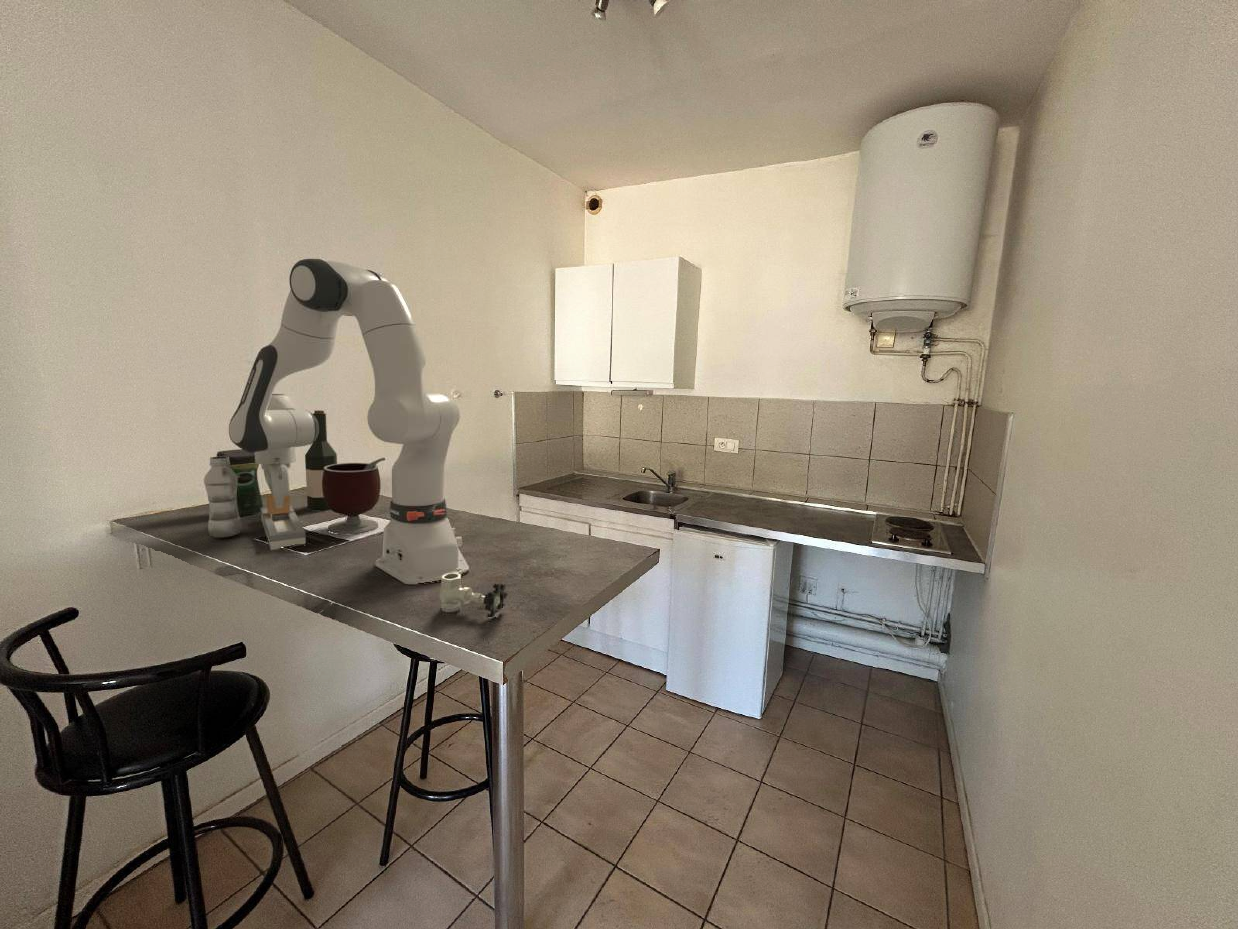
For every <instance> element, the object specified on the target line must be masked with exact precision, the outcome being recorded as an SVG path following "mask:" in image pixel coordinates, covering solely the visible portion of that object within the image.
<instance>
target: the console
mask: <svg viewBox="0 0 1238 929" xmlns="http://www.w3.org/2000/svg"><path fill="white" fill-rule="evenodd" d="M260 514H261V515H260V517H261V522H262V526H263V529H264V532H265V535H266V539H267V538H268V539H267V542H268V541H269V543H268V545H270V546H269V548H270V551H274V550H275V551H276V550H279V549H278V548H281V547H284V546H290V545H295V544H305V543H307V542H306V539H307V538H306V531H305V528H304V527H303V525H302V523H301V521H300V519H299V518H298V515H297V514H296V512H295V510H294V508H293V506H292V505H291V504H290V513H287V519H283V520H274V521H273V520H272V515H268V508H267V506H266V507H263V508H261V511H260Z"/></svg>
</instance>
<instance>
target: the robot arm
mask: <svg viewBox="0 0 1238 929" xmlns="http://www.w3.org/2000/svg"><path fill="white" fill-rule="evenodd" d="M288 281H289V287H290V291H289V292H288V295H287V298H286V301H285V305H284V307H283V310H282V314H281V315H282V316H281V319H280V320H281V321H280V326H279V330H278V331H277V333H276V336H274V338H273V340H272V341H271V342H270V343H268V344H267V345H266V346H264V347H261V349H260V350H259V351H258V352H257V355H256V357H255V360H254V362H253V365H252V367H251V369H250V370H251V371H250V373H249V376H248V379H247V382H246V384H245V387H244V390H243V393H242V396H241V398H240V401H239V404H238V406H237V408H236V410H235V411H234V413H233V415H232V417H231V418H230V422H229V424H228V434H229V435H228V436H229V438H230V441H231V442H232V443H233V444H234V445H235V446H237V447H238V449H243V450H245V451H247V452H249V453H253V452H255V463H258V464H259V465H261V470H263V474H264V479H265V483H266V485H267V487H268V489H269V491H270V494H272V496H273V497H274V500H275V508H277V509H279V508H283V507H284V506H283V500H284V497H285V496H289V497H290V478H289V470H288V469H290V468H291V463H294V462H296V457H297V456H296V448H298V447H305V446H311V445H312V444H313V442H314V441H315V440H316V438H317V436H318V434H319V424H318V421H317V419H316V417H315V416H314V415H313V413H312V412H310V411H309V410H307V409H303V408H301V407H299V406H297V405H296V404H295V403H293V401H292V398H291V397H290V396H289V395H286V394H285V393H284V394H283V393H274V391H275V388H276V386H277V384H279V382H280V381H282V380H283V379H284V378H286V377H288V376H290V375H293V374H295V373H298V372H301V371H306V370H309V369H314V368H316V367H318V366H320V365H322V364H323V363H325V362H326V361H327V360H328V359H330V357H331V355H332V354H333V349H334V347H335V341H336V336H337V330H338V324H339V321H340V318H341V317H343V316H344V317H355V319H356V320H357V323H358V326H359V330H360V332H361V337H362V339H363V342H364V344H365V347H366V350H367V351H366V352H367V353H368V354H367V355H368V357H369V361H370V363H371V367H372V373H373V378H374V397H373V400H372V403H371V404H370V406H369V409H368V411H367V418H366V420H367V425H368V427H369V429H370V431H371V433H372V434H373V435H374V436H375V438H376V439H378V440H380V441H382V442H384V443H388V444H396V445H402V446H401V450H400V453H399V456H398V457H397V459H396V460H395V462H394V463H393V465H392V468H391V492H392V493H391V498H392V499H391V501H390V505H389V516H390V520H389V522H388V524H386V526H384V528H383V535H382V536H383V537H382V538H383V539H382V541H383V542H382V556H381V557H379V558H378V559H376V560H375V563H374V564H375V567H377V568H378V569H380V570H382V571H383V572H385V573H387V575H390V576H392V577H393V578H395V579H396V580H399V581H400V582H401V583H403V584H405V585H419V584H418V583H424V582H431V583H433V582H432V581H436V580H440V579H442V575H444V574H447V573H458V574H462V573H463V572H466V571H467V570H469V571H470V566H469V565H468V562H467V561H466V559H465V558H464V556H463V554H462V552H461V551H460V549H459V547H462V546H463V538H462V536H455V534H456V528H455V527H452V526H451V523H450V518H449V519H448V510H447V509H448V506H447V502H446V499H445V497H444V495H445V490H444V489H445V467H446V466H445V465H446V464H445V463H446V460H447V456H448V451H449V447H450V443H451V439H452V435H453V433H454V430H455V429H456V428H457V426H458V424H459V422H460V419H461V418H460V417H461V416H460V414H461V413H460V410H459V409H460V408H459V406H458V405H457V403H456V402H455V401H454V399H452V398H451V397H449V396H447V395H445V394H443V393H440V392H439V393H438V392H436V391H425V390H424V386H423V385H424V384H423V370H424V367H425V365H426V355H425V353H424V349H423V346H422V343H421V340H420V338H419V335H418V331H417V327H416V325H415V322H414V319H413V317H412V314H411V312H410V309H409V308H408V305H407V303H406V302H405V299H404V297H403V295H402V294H401V292H400V290H399V288H398V287H397V286H396V285H395V284H393V283H391V282H390V281H388V279H386V278H385V277H384V276H383V275H381V274H379V273H377V272H375V271H373V270H370V269H363V268H360V267H357V266H354V265H350V264H348V263H343V262H339V261H332V260H331V261H330V260H323V259H320V258H305V259H304V258H303V259H301V260H298V261H297V262H295V263H294V265H293V266H292V268H291V271H290V274H289V280H288ZM424 584H425V583H424Z"/></svg>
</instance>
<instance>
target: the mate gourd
mask: <svg viewBox="0 0 1238 929" xmlns="http://www.w3.org/2000/svg"><path fill="white" fill-rule="evenodd" d="M382 461H386V458H385V457H381V458H378V459H376V460H373V461H372V462H370V463H368V462H342V463H337V464H332V465H328V466H325V467H324V472H323V478H322V491H323V496H324V500H325V503H326V505H327V506H328V507H329V508H330V509H331V510H330V511H332V512H334V513H337V514H339V515H342V516H343V515H344V516H346V519H345V520H341V521H336V522H334V523H331V524H329V525H328V526H327V532H328V531H330V532H333V533H338V534H355V535H361V534H360V533H362V534H366V533H365V532H367V533H370V532H369V531H371V532H373V531H375V530H377V529H378V528H379V523H378V522H377V521H375V520H371V519H363V518H360V516H359V515H363V514H364V513H367V512H369V511H371V510H373V509H374V507H375V506H376V505H377V503H378V502H379V499H380V496H381V494H380V493H381V487H382V486H381V475H380V470H379V466H378V465H377V464H379V463H380V462H382Z"/></svg>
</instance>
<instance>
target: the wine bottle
mask: <svg viewBox="0 0 1238 929" xmlns="http://www.w3.org/2000/svg"><path fill="white" fill-rule="evenodd" d="M312 414H313V415H314V416H315V417H316V419H317V421H318V424H319V434H318V436H317V438H316V440H315V441H314V442H313V443H312V444H310V447H309V448H308V450H307V451H306V453H305V454H304V462H305V481H306V483H305V484H306V502H307V503H306V504H307V510H310V511H312V510H313V512H327V511H332V510H331V509H330V508H329V507H328V506H327V505H326V503H325V500H324V496H323V491H322V478H323V472H324V467H325V466H328V465H332V464H338V455H337V452H336V451H335V449H333V447H332V446H331V444H330V443H329V442H328V435H327V434H328V432H327V413H325V411H324V410H317V409H316V410H314V412H313V413H312ZM326 510H327V511H326Z"/></svg>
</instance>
